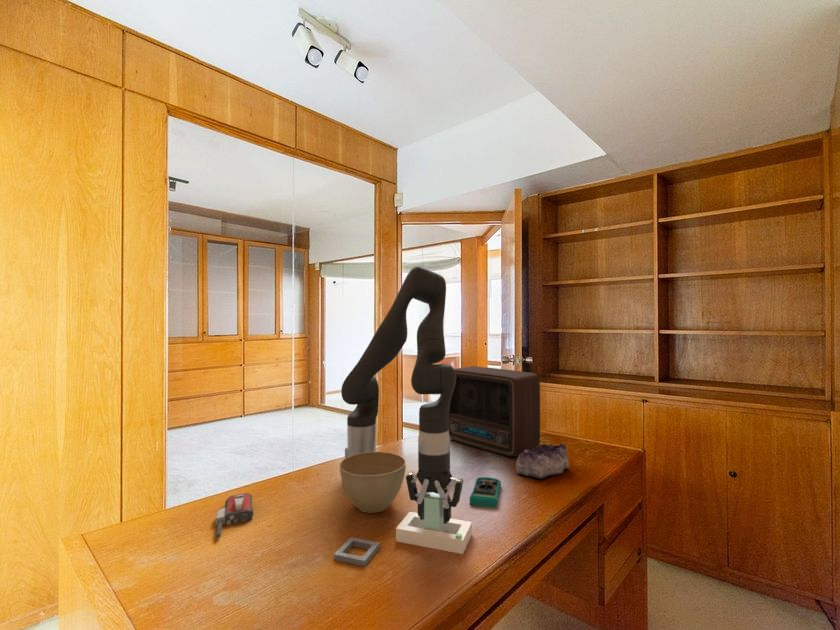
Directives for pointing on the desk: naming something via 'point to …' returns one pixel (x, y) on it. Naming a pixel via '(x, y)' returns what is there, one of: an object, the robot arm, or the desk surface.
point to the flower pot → (372, 479)
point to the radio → (496, 409)
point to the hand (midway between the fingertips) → (434, 519)
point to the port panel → (435, 534)
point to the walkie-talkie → (234, 511)
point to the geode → (543, 461)
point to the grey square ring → (353, 559)
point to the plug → (433, 512)
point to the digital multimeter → (485, 492)
